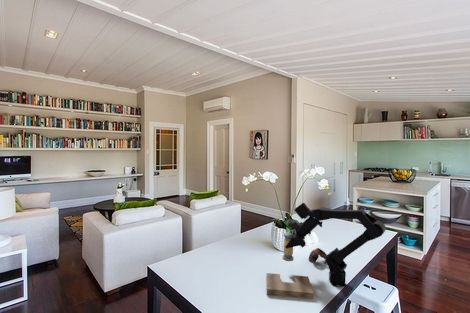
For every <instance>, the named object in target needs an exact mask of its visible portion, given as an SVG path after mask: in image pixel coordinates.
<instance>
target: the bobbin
mask: <svg viewBox="0 0 470 313" xmlns="http://www.w3.org/2000/svg"><path fill="white" fill-rule="evenodd" d="M292 235H293V236H294V234H292V233H290V232H284V233H283V237H284V238H283V255H282V260H284V261H285V262H292V261H294V260H295V259H294V256H293V255H294V247H291V248H286V245H287V244H288V243H289V242H290V240H291V239H292Z"/></svg>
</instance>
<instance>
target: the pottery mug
mask: <svg viewBox="0 0 470 313" xmlns="http://www.w3.org/2000/svg"><path fill="white" fill-rule="evenodd" d="M327 255H328V254H327V253H326V252H325V251H324V250H323V249H321V248H319V247H316V248H315V249H313V250H311V252H310V253H309V256H308V261H309V262H310V263H312V262H313V263H314V264H315V263H316V262H317V260H318V259H319V257H321V258H323V259H324V262H323V263H324V264H326V265H327V263H326V258H327V257H328V256H327Z"/></svg>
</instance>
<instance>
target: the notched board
mask: <svg viewBox="0 0 470 313" xmlns="http://www.w3.org/2000/svg"><path fill="white" fill-rule="evenodd" d="M293 278H294V279H293V280H294V282H289V281H287V282H285V281H281V274H279V273H268V272H266V279H265V280H266V282H265V283H266V295H268V296H276V297H277V296H278V297H288V298H289V297H290V298H300V299H301V298H302V299H311V300H314V298H315V293H314V290H313V287H312V283H311V281H310V278H309V276H306V275H295V274H294V277H293Z"/></svg>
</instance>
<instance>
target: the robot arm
mask: <svg viewBox="0 0 470 313" xmlns="http://www.w3.org/2000/svg"><path fill="white" fill-rule="evenodd" d="M293 211H294V212H295V214H296V215H297V216H298V217H299V218H300V219H301V220H304V221H303V222H302V221H300V222H297V221H295V220H294V219H291V218H289V219H288V221H287V223H286V226H287V227H288V228H290V229H289V233H292V234H294V236H293V235H292V239H291V240H290V242H289V243H288V244H287V245H286V248H291V247H293V248H294V247H298V246H299V247H301V248H304V247H305V246H306V240H305V238H306V237H307V236H308V235H311V234H312V231H314V229H316V228H317V226H319V227H320V228H323V221H327V220H331V219H334V220H335V219H337V220H338V219H340V220H341V219H343V220H358V221H359V222H360V224H361V226H363V227H364V229H365V230H364V231H363V232H362V233H361V234H360V235H359V236H357V237H356V238H354V239H353V240H352V241H350V242H349V243H348V244H347V245H345V246H343V247H342V248H340V249H339V248H338V247H335V249H333V250H331V251H330V252H329V253H328V254H327V256H328V257H327V258H326V265H327V267H328V280H329V282H330V285H331V286H333V287H347V283H346V274H347V273H346V271H345V270H346V269H347V267H348V264H347V263H346V262H345V259H346V258H347V257H348V256H350V255H351V254H352V253H353V252H355V251H357V250H358V249H359V248H361V247H362V246H363V245H365V244H366V243H368V242H370V241H373V240H376V239H378V238H380V237H382V236H383V234H384V233H385V232H386V230H387V229H386V228H387V226H386V224H385V223H384V222H382V220H378V219H377V218H375V217H374V216H372V215H371V214H369V213H367V212H366V211H365V210H364V209H333V208H328V207H323V206H322V207H321V206H320V207H318V208H316V209H310V208H309V207H308V206H307V204H306V203H305V202H302V203H300V205H298V206H297V207H295V209H294V210H293Z"/></svg>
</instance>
